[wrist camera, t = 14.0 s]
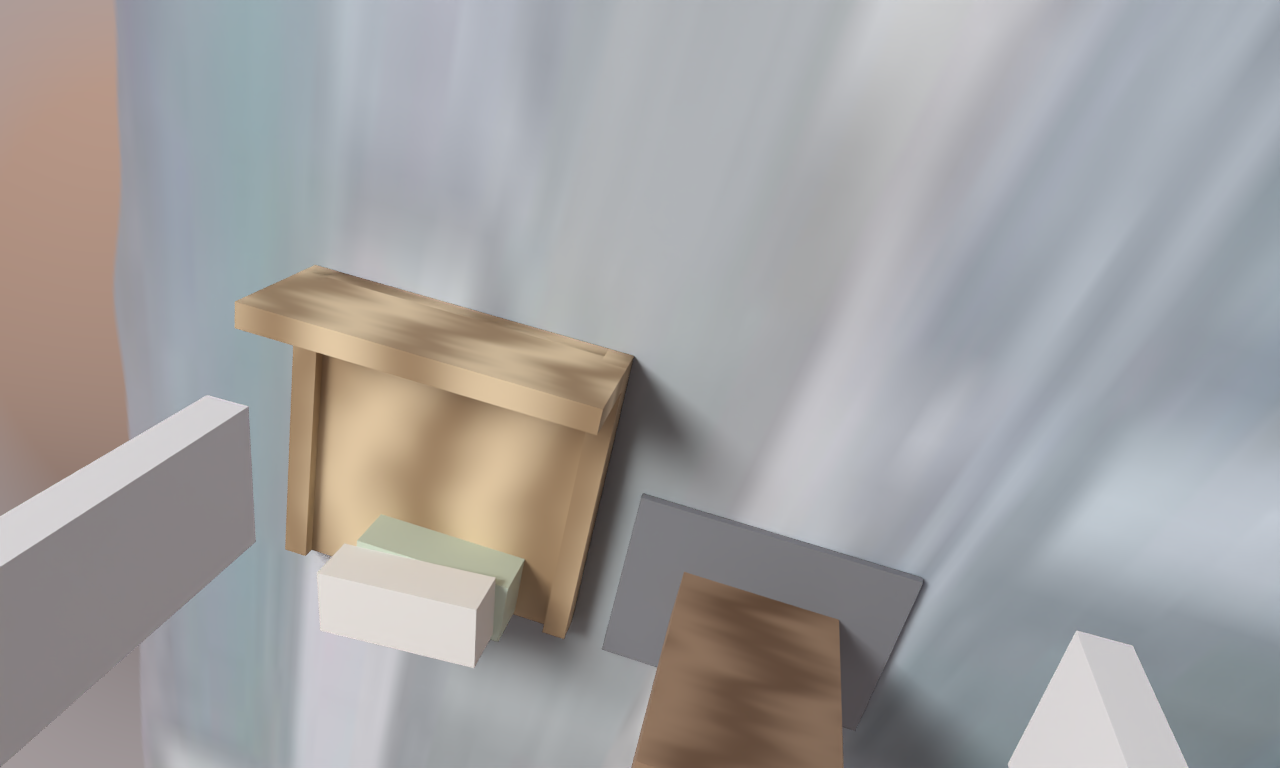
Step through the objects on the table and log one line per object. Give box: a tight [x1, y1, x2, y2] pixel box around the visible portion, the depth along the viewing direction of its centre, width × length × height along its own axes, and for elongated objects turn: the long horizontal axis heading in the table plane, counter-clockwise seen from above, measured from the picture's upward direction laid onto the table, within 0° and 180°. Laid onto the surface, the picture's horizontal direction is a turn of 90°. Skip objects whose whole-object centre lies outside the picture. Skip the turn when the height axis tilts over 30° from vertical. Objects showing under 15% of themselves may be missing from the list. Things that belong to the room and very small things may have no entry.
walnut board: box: [631, 572, 843, 768], centre depth 36 cm, size 8×3×12 cm, turn 77°
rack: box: [235, 265, 634, 639], centre depth 39 cm, size 16×16×6 cm
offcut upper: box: [317, 543, 496, 668], centre depth 40 cm, size 8×4×2 cm, turn 83°
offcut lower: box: [357, 514, 525, 642], centre depth 43 cm, size 8×4×2 cm, turn 77°
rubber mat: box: [602, 494, 923, 731], centre depth 42 cm, size 14×10×1 cm
